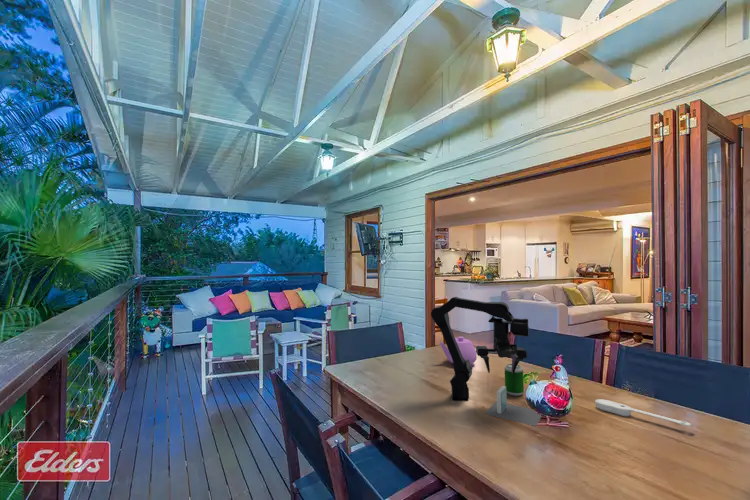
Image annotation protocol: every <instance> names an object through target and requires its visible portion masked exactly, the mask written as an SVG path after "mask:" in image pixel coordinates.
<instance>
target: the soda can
mask: <svg viewBox="0 0 750 500" xmlns="http://www.w3.org/2000/svg"><path fill="white" fill-rule="evenodd" d="M504 386H506V394H508V395H510V396H515V397H517V396H522V395H524V394H525V393H524V392H525V390H524V389H525V388H524V387H525V386H524V368H523V367H522V366H521V365H520V364H518V365H517V367H516V370H515V372H514V374H512V363H507V364H506V365H505V366H504Z"/></svg>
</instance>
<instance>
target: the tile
mask: <svg viewBox="0 0 750 500" xmlns="http://www.w3.org/2000/svg"><path fill="white" fill-rule="evenodd" d="M507 394H508V393H507V392H506V386H505V385H502V386H500V387H499V388H498V389H497V390H496V401H497V413H500V414H501V413H502V412H503V411H504V410H505V408H506V407H507V404H508V401H507Z"/></svg>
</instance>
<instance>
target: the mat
mask: <svg viewBox="0 0 750 500" xmlns="http://www.w3.org/2000/svg"><path fill="white" fill-rule="evenodd" d="M532 409H533V408H529V407H524V406H519V405H517V404H516V405H515V404H511V403H507V407H506V408H505V410H504V411H503V412H502V413H501V414H500V413H497V400H495V402H494V403H492V404H491V406H489V408H488V409H487V410H485V412H484V414H485V415H488V416H493V417H496V418H497V417H498V418H501V419H504V420H509V421H513V422H517V423H521V424H525V425H528V426H529V425H530V426H532V427H536V426H537V425H538V424H539V422H540V420H541V418H542V416H543V415H542V416H541V415H539V414H537V413H536V412H535V411H533V410H532Z"/></svg>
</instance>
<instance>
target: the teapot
mask: <svg viewBox="0 0 750 500" xmlns="http://www.w3.org/2000/svg"><path fill="white" fill-rule="evenodd" d="M455 339H456V342H457V344H458V347H459V349H460V352H461V354H462V357H463V358H464V359H465V360H466V361H467V360H469V362H470V365H471V367H473V366H474V365H473V364H475V362H476V361H477V356H478V355H477V353H476V347H474V344H473V343H472V341H471V340H470V339H468V338H465V337H464V336H462V335H461V336H458V337H455ZM439 345H440V347H441V349H442V352H443V353H444V355H445V356H446V358H447V360H448V362H449V363H450V364H453V360H452V357H451V355H450V352H449V350H448V347H447V345H446V344H445V343H444V342H439Z"/></svg>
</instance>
